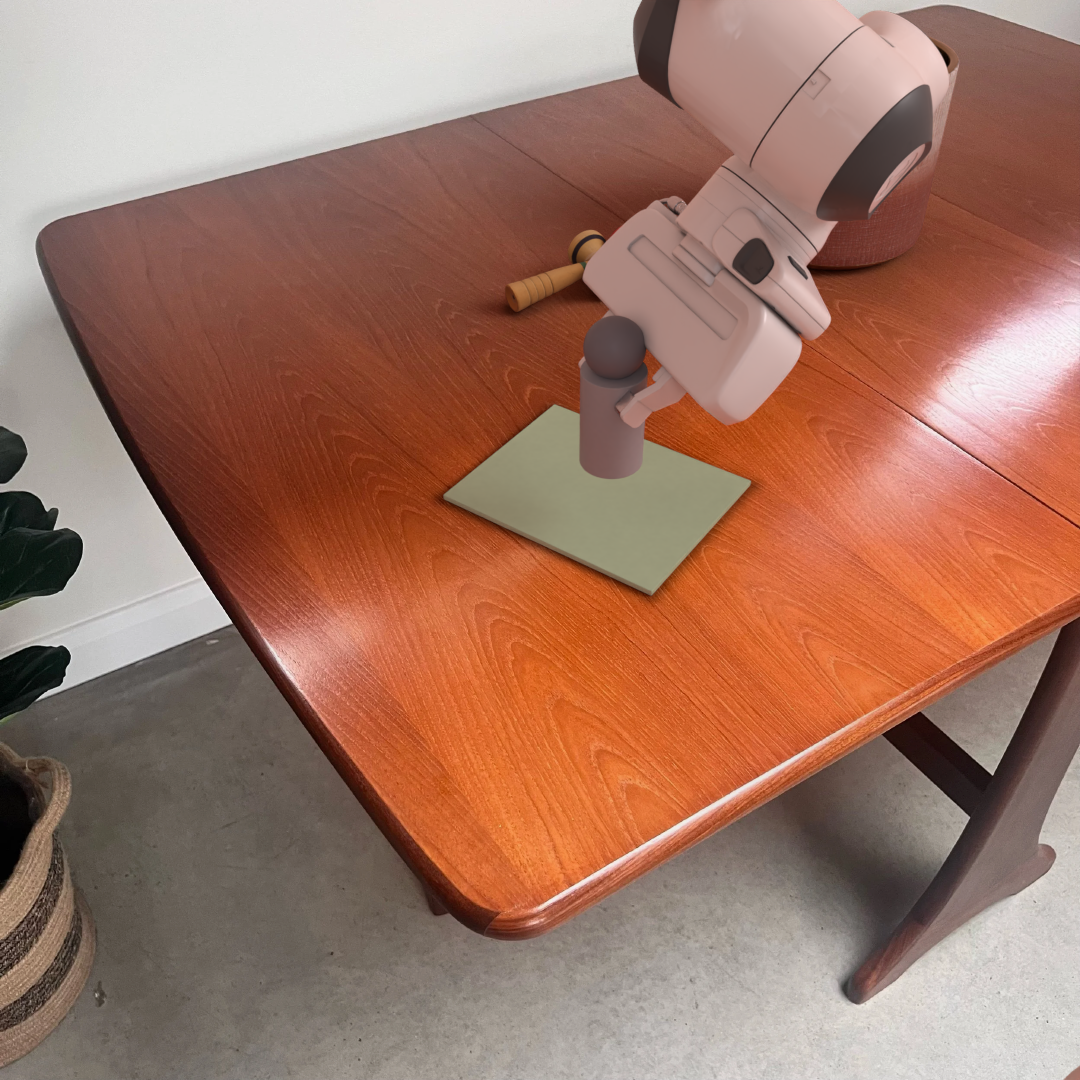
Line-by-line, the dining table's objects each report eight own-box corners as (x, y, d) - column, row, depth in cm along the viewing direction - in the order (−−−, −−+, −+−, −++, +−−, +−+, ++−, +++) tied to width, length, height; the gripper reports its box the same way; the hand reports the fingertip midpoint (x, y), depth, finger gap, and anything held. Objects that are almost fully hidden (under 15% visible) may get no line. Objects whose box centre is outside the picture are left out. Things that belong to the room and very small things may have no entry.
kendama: (536, 340, 107) (680, 276, 112) (521, 283, 103) (672, 219, 108) (503, 320, 113) (642, 259, 118) (489, 265, 109) (632, 205, 114)
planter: (737, 186, 132) (757, 15, 119) (919, 203, 127) (960, 27, 114) (711, 265, 116) (730, 78, 103) (917, 288, 111) (964, 95, 98)
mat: (750, 485, 87) (751, 480, 86) (651, 596, 77) (651, 591, 77) (554, 408, 96) (554, 403, 95) (443, 499, 86) (442, 494, 86)
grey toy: (654, 454, 79) (664, 314, 71) (620, 487, 77) (626, 345, 69) (601, 434, 82) (605, 295, 74) (566, 464, 79) (566, 324, 71)
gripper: (642, 163, 76) (522, 309, 80) (797, 286, 62) (641, 457, 66) (691, 210, 80) (575, 347, 84) (846, 336, 66) (698, 494, 70)
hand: (605, 397), depth 75 cm, fingers closed on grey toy, 5 cm apart
